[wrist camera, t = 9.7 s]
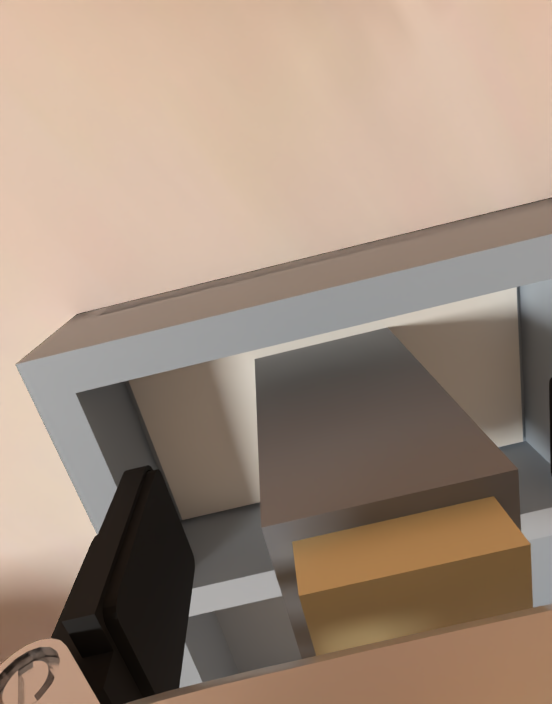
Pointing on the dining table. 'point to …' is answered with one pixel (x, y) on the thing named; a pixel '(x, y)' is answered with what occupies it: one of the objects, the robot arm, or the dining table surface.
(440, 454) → the block
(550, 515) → the walled box
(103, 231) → the dining table surface
